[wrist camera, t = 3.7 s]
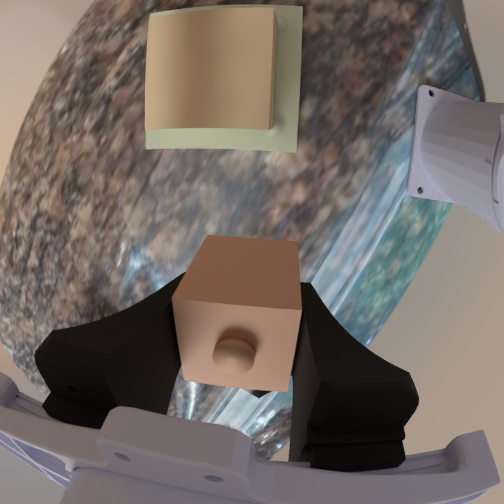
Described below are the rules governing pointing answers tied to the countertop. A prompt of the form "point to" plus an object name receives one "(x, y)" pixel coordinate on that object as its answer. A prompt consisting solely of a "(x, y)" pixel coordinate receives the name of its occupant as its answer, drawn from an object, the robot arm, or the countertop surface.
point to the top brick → (239, 313)
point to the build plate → (284, 105)
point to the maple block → (211, 69)
